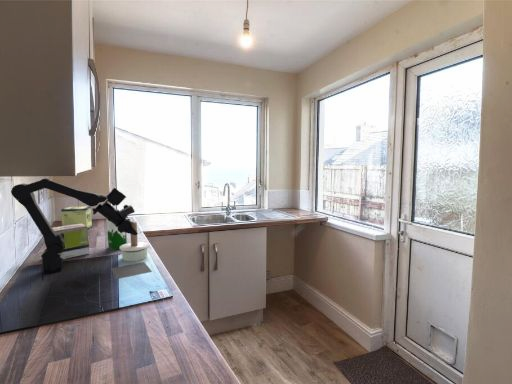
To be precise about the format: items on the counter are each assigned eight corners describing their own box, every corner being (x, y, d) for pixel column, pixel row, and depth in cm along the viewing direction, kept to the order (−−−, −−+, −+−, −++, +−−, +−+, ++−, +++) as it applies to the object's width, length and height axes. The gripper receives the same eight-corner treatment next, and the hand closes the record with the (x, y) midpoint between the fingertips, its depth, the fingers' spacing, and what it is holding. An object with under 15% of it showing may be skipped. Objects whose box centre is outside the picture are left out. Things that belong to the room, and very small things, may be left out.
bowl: (124, 263, 132) (124, 253, 132) (120, 257, 141) (120, 248, 141) (149, 258, 138) (149, 249, 138) (144, 253, 148) (143, 244, 147)
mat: (115, 280, 113) (115, 279, 113) (110, 269, 125) (110, 268, 125) (152, 272, 121) (152, 271, 121) (144, 263, 133) (144, 262, 133)
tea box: (84, 250, 153) (82, 222, 152) (89, 254, 146) (88, 225, 144) (50, 256, 143) (48, 227, 141) (54, 261, 135) (52, 230, 134)
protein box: (87, 230, 198) (86, 208, 196) (62, 231, 194) (60, 209, 193) (92, 227, 208) (91, 206, 206) (68, 228, 204) (66, 206, 203)
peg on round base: (133, 252, 131) (131, 225, 129) (113, 249, 136) (112, 223, 135) (154, 245, 142) (153, 220, 141) (135, 242, 148) (134, 218, 147)
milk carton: (106, 247, 157) (104, 211, 155) (122, 244, 164) (121, 209, 162) (112, 251, 151) (110, 213, 149) (129, 247, 158) (127, 211, 156)
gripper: (125, 202, 127) (151, 224, 133) (121, 198, 143) (145, 217, 150) (105, 221, 124) (134, 243, 130) (104, 215, 140) (130, 234, 147)
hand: (136, 233), depth 139 cm, fingers closed on peg on round base, 3 cm apart
